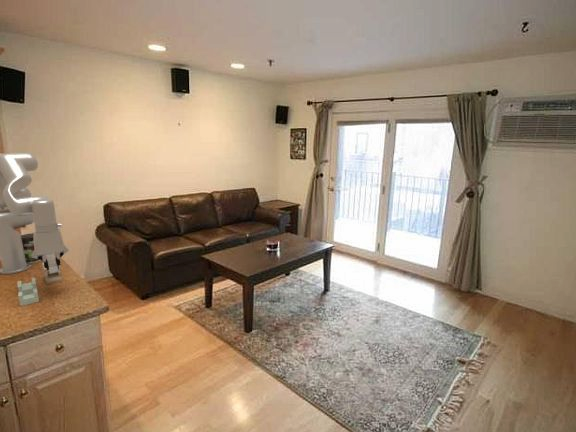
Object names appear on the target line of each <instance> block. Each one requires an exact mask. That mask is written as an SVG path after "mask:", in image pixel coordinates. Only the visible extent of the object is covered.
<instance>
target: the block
mask: <svg viewBox="0 0 576 432" xmlns="http://www.w3.org/2000/svg"><path fill="white" fill-rule="evenodd" d="M41 264H42V265H41V266H42V269H43V270H42V271H43V274H44V280H45V283H46V285H49V284H54V283H57V282H58V283H59V282H63V276H62V271H61V265H59V268H58V272H55V273H50V272H49V270H47V268H44V262H42V263H41Z"/></svg>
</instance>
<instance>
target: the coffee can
mask: <svg viewBox="0 0 576 432" xmlns="http://www.w3.org/2000/svg"><path fill="white" fill-rule="evenodd" d="M20 235H21V238H22V243H23V248H24V254H25V259H26V263H30V264H36V263H39V262H42V261H41V260H39V259H36V258H32V257H31V255H32V253H33V251H34V239H33V235H34V232H33V233H24V234H20Z"/></svg>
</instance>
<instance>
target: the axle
mask: <svg viewBox="0 0 576 432" xmlns="http://www.w3.org/2000/svg"><path fill="white" fill-rule="evenodd" d="M55 258H56V255H55V253H54V254H48V255H46V259H47V261H48V267H49V272H50V273H55V272H58V266H57V263H56V260H55Z"/></svg>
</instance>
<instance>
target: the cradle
mask: <svg viewBox="0 0 576 432" xmlns="http://www.w3.org/2000/svg"><path fill="white" fill-rule="evenodd" d="M16 282H17V289H18V293H17V294H18V295H17V297H18V301H19V305H20V307H23V306H27V305H31V304H35V303H39V302H40V298H39V293H38V287H37V282H36V277H31V282H28V283H22V280H17V281H16Z"/></svg>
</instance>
